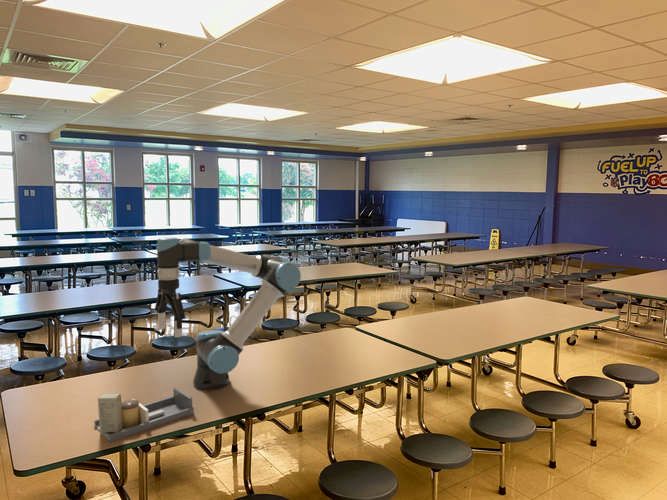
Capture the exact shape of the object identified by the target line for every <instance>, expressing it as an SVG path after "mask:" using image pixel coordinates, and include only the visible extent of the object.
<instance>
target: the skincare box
mask: <svg viewBox="0 0 667 500" xmlns="http://www.w3.org/2000/svg"><path fill="white" fill-rule="evenodd" d="M121 394H122V393H121V392H119V393H118V392H116V393H115V392H114V393H111V392H110V393H103V394H101V395H100V396H99V397H97V407H98V419H99V424H100V431H99V432H100V433H101V432H118V431H119V430H120V429H121V427H122V426H123V423H122V407H121V403H122V395H121Z"/></svg>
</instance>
